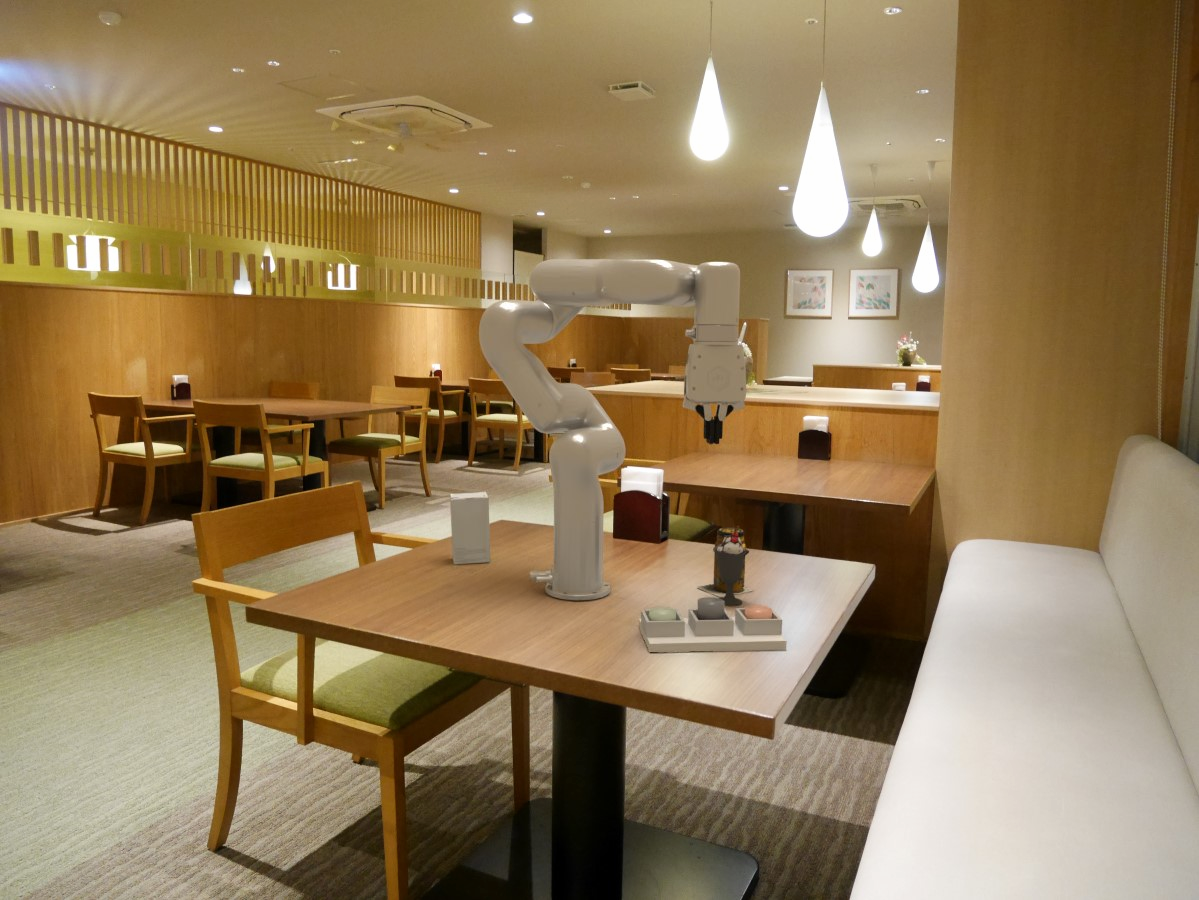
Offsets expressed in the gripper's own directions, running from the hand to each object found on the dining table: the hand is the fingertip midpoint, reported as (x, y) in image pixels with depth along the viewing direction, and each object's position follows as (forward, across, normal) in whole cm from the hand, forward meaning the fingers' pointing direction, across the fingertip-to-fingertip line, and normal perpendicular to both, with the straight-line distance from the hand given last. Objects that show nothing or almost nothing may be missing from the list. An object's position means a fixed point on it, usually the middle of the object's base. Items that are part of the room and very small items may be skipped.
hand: (712, 442), depth 149 cm
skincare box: (+31, -44, +40) cm, 67 cm away
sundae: (+31, +6, +8) cm, 33 cm away
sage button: (+29, -10, -11) cm, 33 cm away
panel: (+31, -2, -11) cm, 33 cm away
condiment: (+31, +7, +16) cm, 36 cm away
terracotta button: (+29, +6, -11) cm, 32 cm away
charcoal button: (+28, -2, -11) cm, 30 cm away
